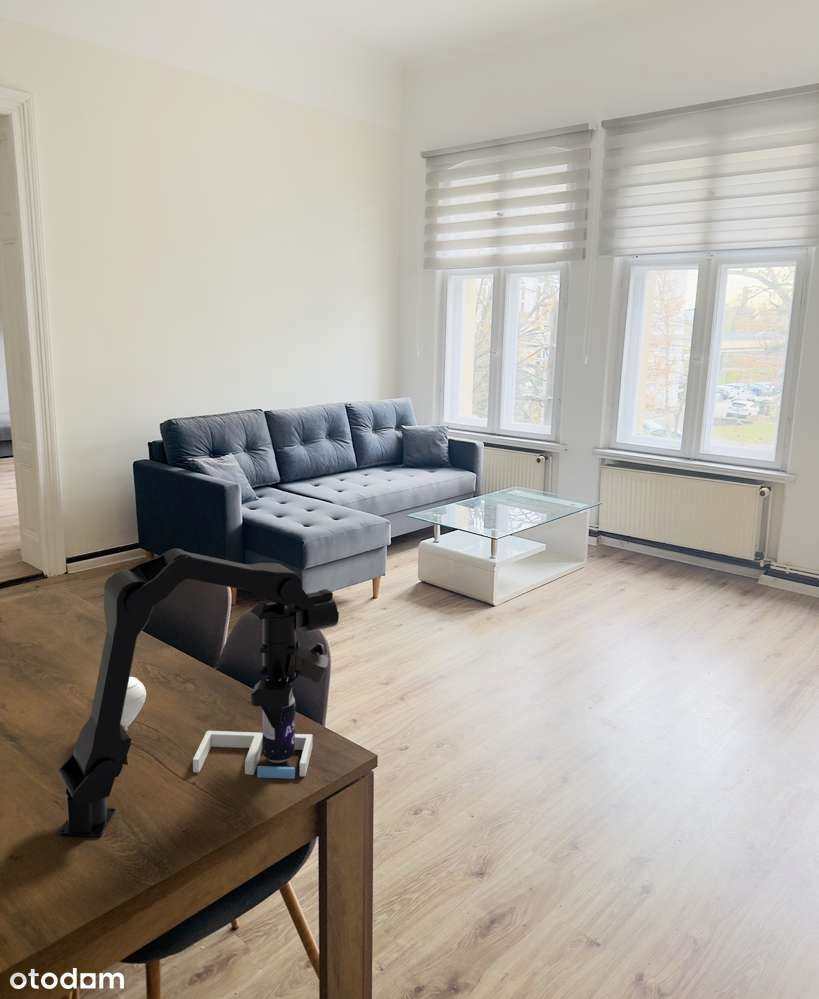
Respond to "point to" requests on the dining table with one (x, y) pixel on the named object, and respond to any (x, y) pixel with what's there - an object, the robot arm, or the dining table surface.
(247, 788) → the dining table surface
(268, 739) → the beverage can
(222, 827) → the dining table surface
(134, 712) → the spinning top
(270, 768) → the white open frame
